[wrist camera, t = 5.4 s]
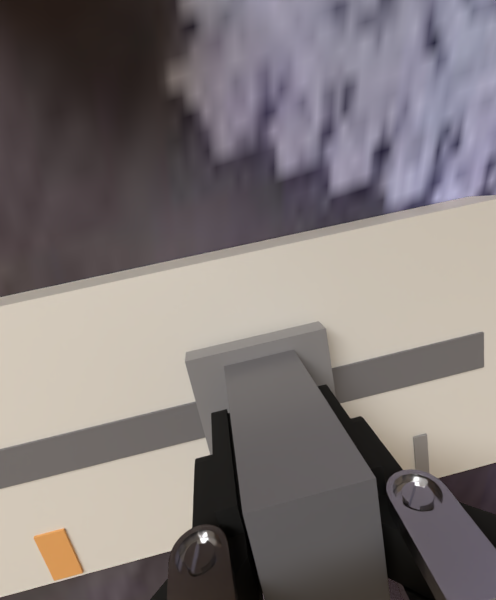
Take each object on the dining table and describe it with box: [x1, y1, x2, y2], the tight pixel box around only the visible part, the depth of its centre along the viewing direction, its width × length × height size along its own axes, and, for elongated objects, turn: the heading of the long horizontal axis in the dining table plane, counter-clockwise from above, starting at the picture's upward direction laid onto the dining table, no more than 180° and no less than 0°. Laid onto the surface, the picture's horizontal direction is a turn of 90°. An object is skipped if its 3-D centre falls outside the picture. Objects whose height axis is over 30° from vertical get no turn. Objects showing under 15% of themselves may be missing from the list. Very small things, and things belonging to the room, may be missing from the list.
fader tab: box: [185, 321, 390, 600], centre depth 10 cm, size 5×6×7 cm
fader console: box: [0, 195, 496, 597], centre depth 15 cm, size 25×12×3 cm, turn 101°
